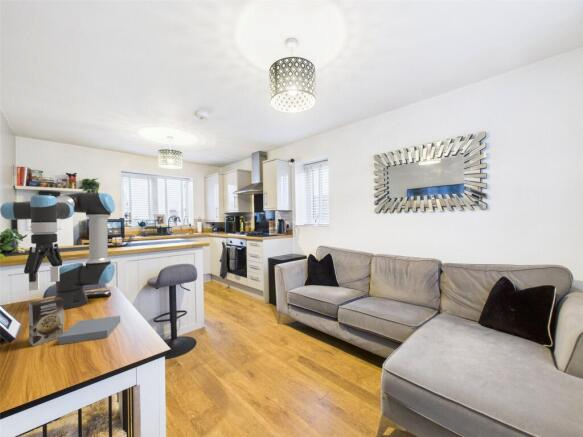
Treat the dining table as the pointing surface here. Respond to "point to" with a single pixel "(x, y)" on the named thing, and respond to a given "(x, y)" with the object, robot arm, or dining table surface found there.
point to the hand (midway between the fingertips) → (45, 285)
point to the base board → (90, 330)
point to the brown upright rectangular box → (45, 320)
